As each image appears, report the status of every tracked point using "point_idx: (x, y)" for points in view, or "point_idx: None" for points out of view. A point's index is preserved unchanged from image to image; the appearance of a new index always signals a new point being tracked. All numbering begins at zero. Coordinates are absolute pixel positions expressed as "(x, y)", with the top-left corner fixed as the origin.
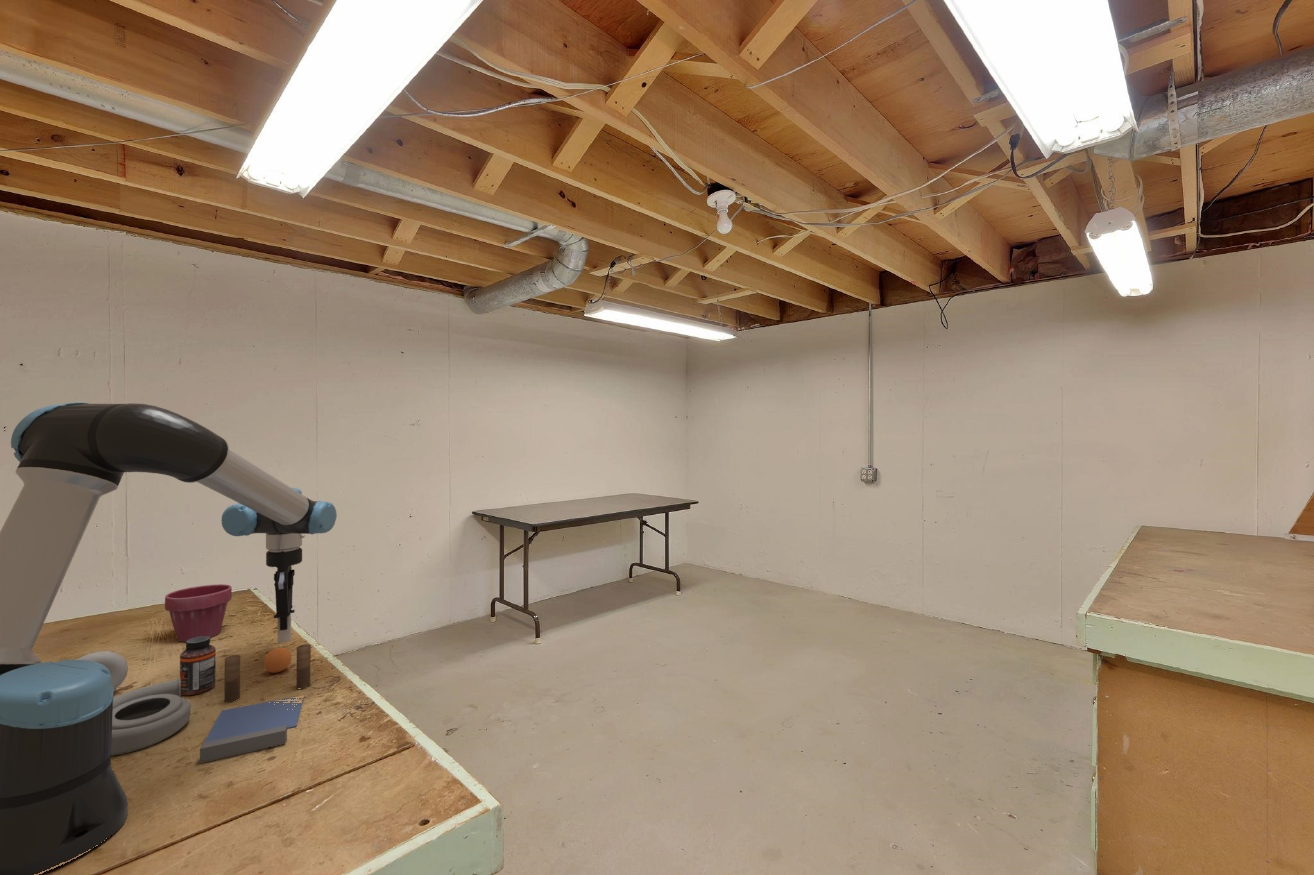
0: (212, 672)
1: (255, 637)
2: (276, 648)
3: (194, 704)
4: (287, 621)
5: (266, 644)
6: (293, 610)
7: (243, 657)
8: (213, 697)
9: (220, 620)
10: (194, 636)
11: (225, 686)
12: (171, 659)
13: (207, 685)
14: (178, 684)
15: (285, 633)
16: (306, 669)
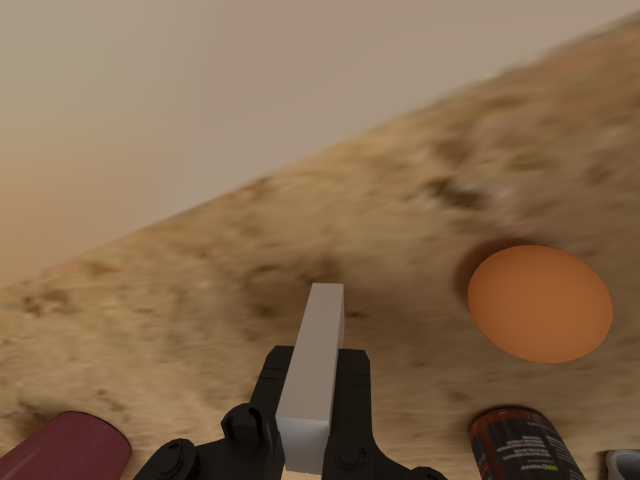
0: (566, 467)
1: (116, 349)
2: (556, 348)
3: (631, 430)
4: (336, 390)
5: (185, 322)
6: (245, 429)
7: None
8: (614, 402)
9: (50, 453)
10: (121, 456)
11: None
12: None
13: (558, 435)
14: None
15: (340, 332)
16: None
